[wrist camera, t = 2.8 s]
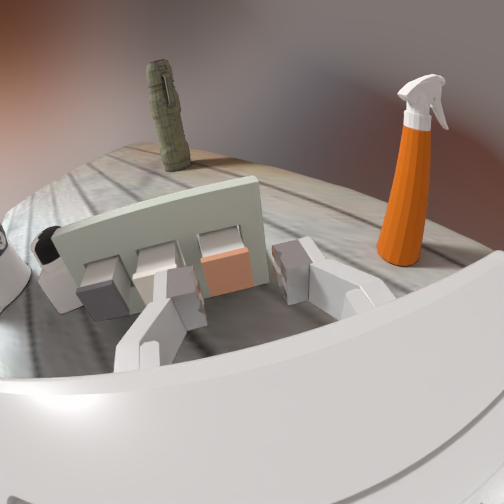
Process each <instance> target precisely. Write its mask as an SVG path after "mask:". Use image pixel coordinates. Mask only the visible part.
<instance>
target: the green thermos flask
mask: <svg viewBox="0 0 504 504" xmlns="http://www.w3.org/2000/svg"><path fill="white" fill-rule="evenodd" d="M146 77H147V82H148V88H149V89H150V100H149V103H150V108H151V113H152V117H153V119H154V120H155V123H156V128H157V133H158V137H159V142H160V146H161V148H160V153H161V158H162V162H163V164H164V166H165V171H166V172H175V171H179V170H182V169H185V168H187V167H189V166H190V165H191V164H192V163H191V159H190V151H189V146H188V143H187V141H186V140H185V135H184V130H183V126H182V121H181V115H180V112H181V107H180V101H179V96H178V93H177V92H176V90H175V86H174V84H173V82H174V80H173V74H172V68H171V66H170V64H169V63H168V60H165V59H162V60H157V61H154V62H151V63H149V64H148V65H147V70H146Z"/></svg>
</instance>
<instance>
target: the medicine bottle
mask: <svg viewBox="0 0 504 504" xmlns="http://www.w3.org/2000/svg"><path fill="white" fill-rule="evenodd" d="M58 228H61V227H60V226H53V227H49V228H47V229H45V230H44V231H42V232H41V233H40V234H38V235H37V236H36V238H35V239H34V241H33V242H32V244H31V251H32V252H33V254H34V256H35V258H36V259H37V261H38V263H39V265H40V266H41V268H42V270H41V273H40V277H39V280H38V283H39V285H40V286H41V288H42V289H43V291H44V292H45V294H46V295H47V297H48V298H49V300H50V301H51V302H52V304H53V305H54V307H55V308H56V309H57V311H58V312H59V313H60V314H63V313H66V312H68V311H71V310H74V309H76V308H79V307H81V306H84V305H83V304H82V303H81V301H80V300H79V298H78V296H77V295H76V290H77V288H79V287H78V286H77V284H76V282H75V281H74V279H73V277H72V276H71V274H70V272H69V271H68V269H67V267H66V265H65V264H64V262H63V260H62V258H61V256H60V255H59V253H58V251H57V249H56V247H55V245H54V243H53V241H52V239H51V237H52V235H53V234H54V232H55V231H56V229H58Z"/></svg>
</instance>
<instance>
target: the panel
mask: <svg viewBox="0 0 504 504" xmlns="http://www.w3.org/2000/svg"><path fill="white" fill-rule="evenodd" d="M236 225H239V231H240V237H241V239H242V242H243V244H244V247H247V248H248V251H249V256H250V262H251V269H252V275H253V282H254V286H258V285H262V284H266V283H270V282H269V273H268V263H267V253H266V244H265V235H264V226H263V217H262V208H261V199H260V190H259V182H258V180H257V179H256V178H255V176H254V175H252V176H247V177H242V178H237V179H232V180H228V181H223V182H218V183H214V184H209V185H205V186H201V187H196V188H192V189H188V190H184V191H180V192H176V193H172V194H168V195H164V196H160V197H157V198H153V199H149V200H146V201H142V202H139V203H135V204H132V205H128V206H125V207H121V208H118V209H115V210H112V211H108V212H105V213H102V214H99V215H96V216H93V217H90V218H87V219H84V220H81V221H78V222H75V223H72V224H69V225H66V226H64V227H61V228H58V229H56V231H55V232H54V234H53V235H52V237H51V239H52V241H53V243H54V245H55V247H56V249H57V251H58V253H59V255H60V256H61V258H62V260H63V262H64V264H65V265H66V267H67V269H68V271H69V272H70V274H71V276H72V277H73V279H74V281H75V282H76V284H77V286H78V287H80V285H81V283H82V280H83V277H84V274H85V271H86V268H87V266H88V263H89V262H93V261H97V260H100V259H104V258H108V257H111V256H115V255H120V257H121V260H122V262H123V264H124V266H125V268H126V270H127V272H128V274H129V276H130V278H131V280H132V278H133V274H136V269H137V263H138V257H139V251H140V249H141V248H145V247H149V246H153V245H157V244H161V243H165V242H169V241H173V240H178V243H179V246H180V249H181V252H182V255H183V258H184V266H186V265H191V264H193V265H194V267H195V270H196V275H197V280H198V281H199V283H200V286H201V289H202V293H203V298H204V299H205V298H209V297H211V294H210V291H209V288H208V284H207V281H206V278H205V275H204V271H203V268H202V265H201V259H200V258H202V253H201V249H200V246H199V242H198V238H197V234H202V233H206V232H210V231H214V230H219V229H223V228H227V227H231V226H236ZM128 308H129V309H130V312H129V315H132V314H137V313H142V311H143V310H144V309H145V308H146V305H145V303H144V301H143V299H142V297H141V296H140V294H139V292H138V290H137V288H136V286H135V284H134V282H133V280H132V281H131V287H130V294H129V301H128Z"/></svg>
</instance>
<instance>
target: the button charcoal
mask: <svg viewBox="0 0 504 504" xmlns="http://www.w3.org/2000/svg"><path fill="white" fill-rule="evenodd" d="M131 281H132V280H131V278H130V276H129V274H128V272H127V270H126V268H125V266H124V264H123V262H122V260H121V257H120V255H115V256H111V257H108V258H104V259H100V260H97V261H93V262H89V263H88V266H87V268H86V271H85V274H84V277H83V280H82V283H81V285H80V287H79V288H77V290H76V295H77V296H78V298H79V300H80V301H81V303H82V304H83V305H84V307H85V308H86V310H87V311H88V313H89V314H90V316H91V317H92V318H93V320H94V321H95V322H97V321H102V320H107V319H112V318H117V317H122V316H127V315H129V312H130V309H129V308H128V301H129V294H130V287H131Z"/></svg>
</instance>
